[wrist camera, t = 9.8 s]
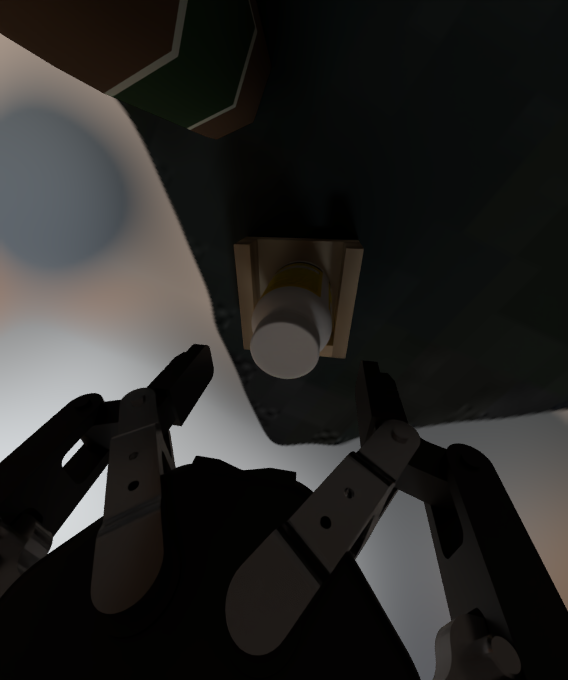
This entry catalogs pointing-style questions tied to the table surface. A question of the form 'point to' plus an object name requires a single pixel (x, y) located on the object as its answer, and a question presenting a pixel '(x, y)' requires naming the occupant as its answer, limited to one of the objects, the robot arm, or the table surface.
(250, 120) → the beer bottle
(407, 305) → the table surface
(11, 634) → the robot arm
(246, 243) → the u holder
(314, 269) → the supplement bottle
